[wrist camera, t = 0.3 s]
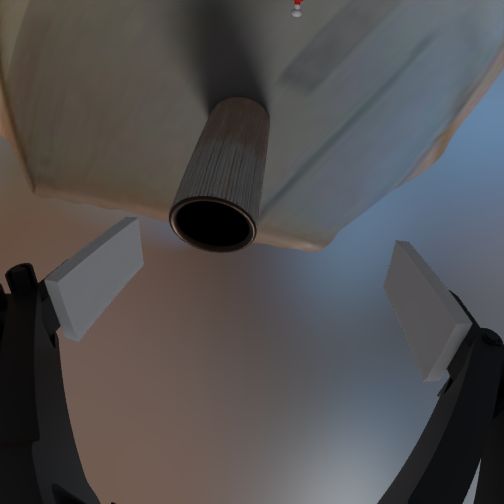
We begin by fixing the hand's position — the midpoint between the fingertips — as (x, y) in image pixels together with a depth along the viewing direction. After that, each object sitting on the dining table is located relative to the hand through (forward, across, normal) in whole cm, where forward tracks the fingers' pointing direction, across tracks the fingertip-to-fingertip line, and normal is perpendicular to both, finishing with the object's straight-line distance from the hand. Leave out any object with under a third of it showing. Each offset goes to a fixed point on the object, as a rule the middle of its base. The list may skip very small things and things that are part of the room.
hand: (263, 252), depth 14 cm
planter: (+36, -7, +6) cm, 37 cm away
